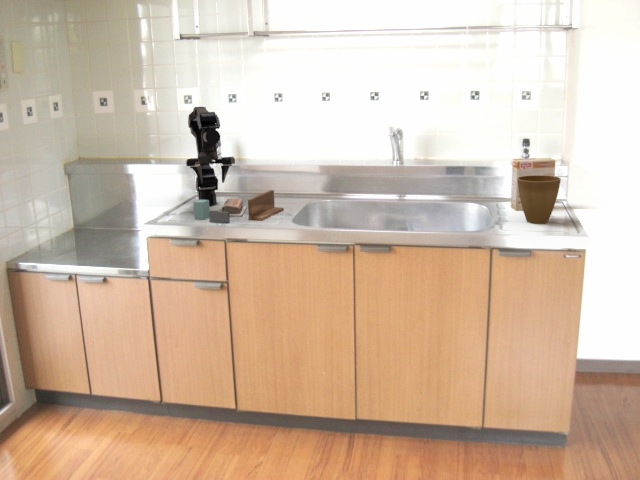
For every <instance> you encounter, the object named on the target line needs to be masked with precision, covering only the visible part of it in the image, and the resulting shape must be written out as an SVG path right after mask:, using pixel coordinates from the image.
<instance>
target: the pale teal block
mask: <svg viewBox="0 0 640 480" xmlns="http://www.w3.org/2000/svg"><path fill="white" fill-rule="evenodd" d="M210 207H211V206H209V200H199V199H197V200H195V201H193V217H194V220H196V221H206V220H208V219H210V218H209V212H210V211H211V209H210Z"/></svg>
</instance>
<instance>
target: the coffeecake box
mask: <svg viewBox="0 0 640 480" xmlns="http://www.w3.org/2000/svg"><path fill="white" fill-rule="evenodd" d="M511 170H512V171H511V188H510V190H511V193H510V196H511V197H510V208H511V209H512V210H514V211H523V208H522V204H521V200H520V195H519V188H518V180H517V178H518V177H522V176H531V175H544V176H555V175H556V174H555V173H556V172H555V171H556V159H554V158H551V157H537V158H513V159H512V167H511ZM555 177H556V176H555Z"/></svg>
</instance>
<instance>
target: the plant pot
mask: <svg viewBox="0 0 640 480" xmlns="http://www.w3.org/2000/svg"><path fill="white" fill-rule="evenodd" d="M517 180H518V188H519V195H520V200H521V204H522V208H523V210H522V211H523V215H524V217H525V220H526V222H528V223H530V224H547V223H548V222H549V220H550V217H551V216H552V213H553V210H554V208H555V205H556V202H557V199H558V194H559V190H560V186H561V180H562V179H561V177H559V176H544V175H531V176H522V177H518V178H517Z"/></svg>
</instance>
